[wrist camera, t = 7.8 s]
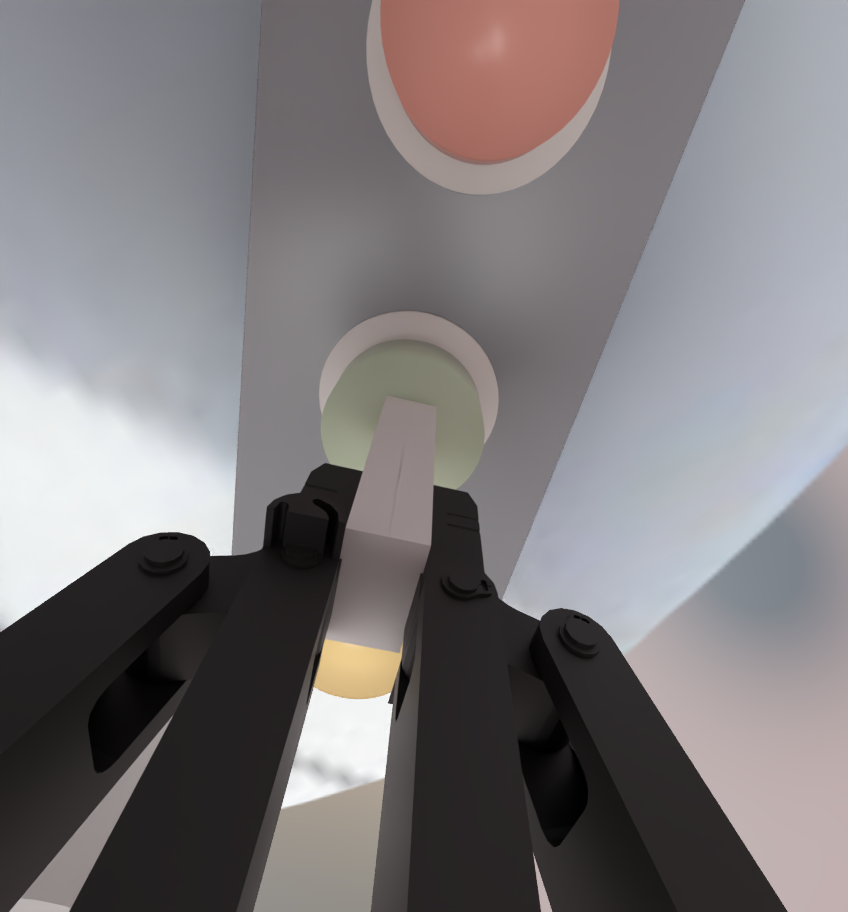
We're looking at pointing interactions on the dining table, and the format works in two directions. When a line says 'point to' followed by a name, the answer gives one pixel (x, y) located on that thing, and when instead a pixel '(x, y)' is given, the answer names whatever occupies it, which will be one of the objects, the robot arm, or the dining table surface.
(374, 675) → the button ochre
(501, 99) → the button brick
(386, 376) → the button sage
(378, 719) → the dining table surface
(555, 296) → the console
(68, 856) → the can
